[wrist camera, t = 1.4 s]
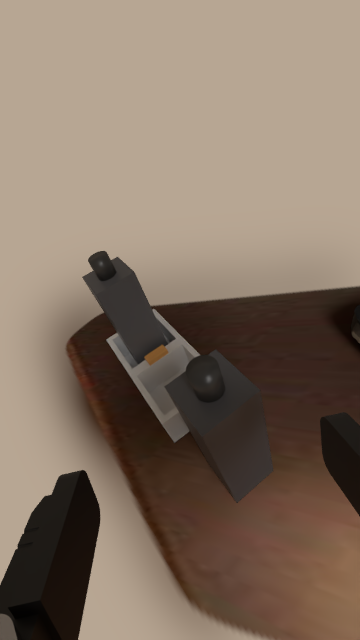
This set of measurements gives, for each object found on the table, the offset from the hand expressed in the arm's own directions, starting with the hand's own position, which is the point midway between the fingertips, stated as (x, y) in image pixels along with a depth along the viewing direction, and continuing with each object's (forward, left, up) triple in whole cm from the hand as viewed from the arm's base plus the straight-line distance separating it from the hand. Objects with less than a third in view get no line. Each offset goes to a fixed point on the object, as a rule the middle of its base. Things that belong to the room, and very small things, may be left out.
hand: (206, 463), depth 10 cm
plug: (-5, -3, -17) cm, 18 cm away
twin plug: (-12, -18, -17) cm, 27 cm away
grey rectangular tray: (-10, -15, -17) cm, 25 cm away
